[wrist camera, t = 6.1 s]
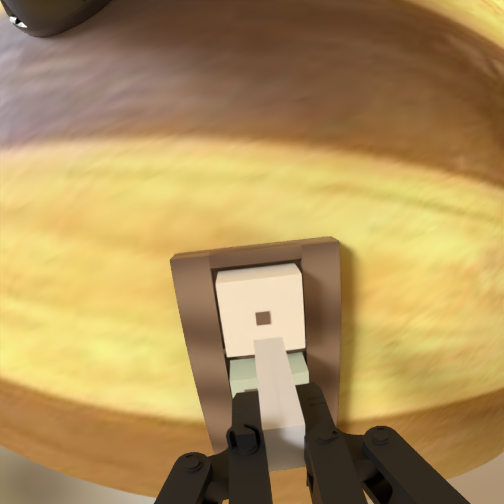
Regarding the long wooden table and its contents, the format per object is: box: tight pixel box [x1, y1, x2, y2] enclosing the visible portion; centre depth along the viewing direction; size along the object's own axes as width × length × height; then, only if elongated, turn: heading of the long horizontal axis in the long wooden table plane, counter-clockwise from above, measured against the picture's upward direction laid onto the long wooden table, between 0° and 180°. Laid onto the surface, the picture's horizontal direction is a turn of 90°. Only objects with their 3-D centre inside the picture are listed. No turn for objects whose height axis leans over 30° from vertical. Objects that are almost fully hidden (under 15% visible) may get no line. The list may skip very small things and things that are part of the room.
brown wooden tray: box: [170, 236, 341, 455], centre depth 27 cm, size 24×13×2 cm, turn 6°
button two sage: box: [230, 352, 309, 398], centre depth 24 cm, size 6×6×3 cm
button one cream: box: [216, 263, 305, 357], centre depth 24 cm, size 6×6×3 cm
